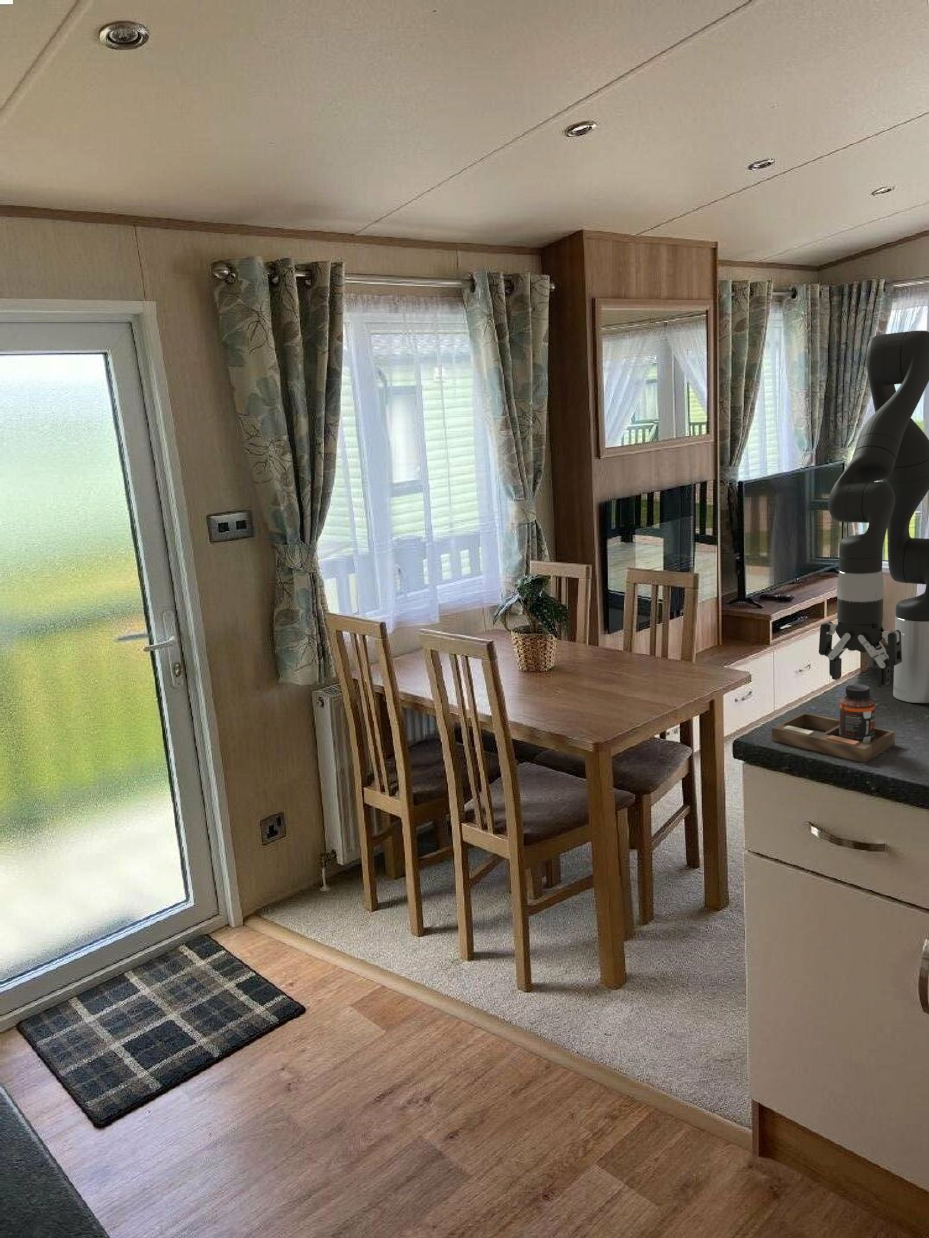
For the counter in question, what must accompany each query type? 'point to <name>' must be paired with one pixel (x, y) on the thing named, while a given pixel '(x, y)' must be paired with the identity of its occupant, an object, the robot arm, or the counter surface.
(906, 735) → the counter surface
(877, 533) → the robot arm
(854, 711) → the supplement bottle
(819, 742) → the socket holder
